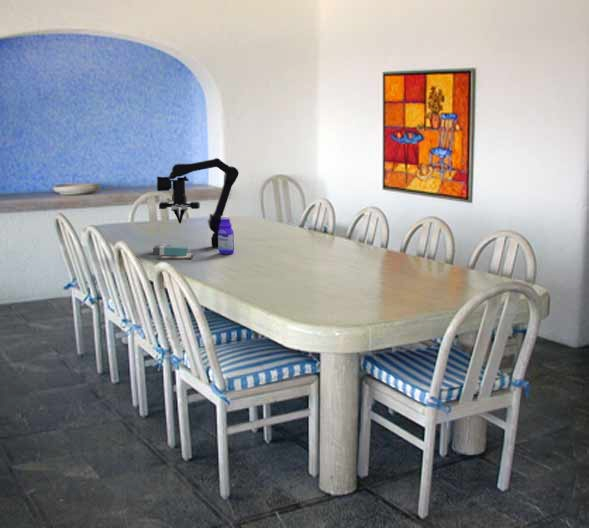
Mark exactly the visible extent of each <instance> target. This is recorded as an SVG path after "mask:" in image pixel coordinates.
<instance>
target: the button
mask: <svg viewBox="0 0 589 528" xmlns="http://www.w3.org/2000/svg"><path fill="white" fill-rule="evenodd" d="M156 245H157V246H158V247H160V246H166V245H167V243H157V244H156Z"/></svg>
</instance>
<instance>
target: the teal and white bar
mask: <svg viewBox="0 0 589 528" xmlns="http://www.w3.org/2000/svg"><path fill="white" fill-rule="evenodd" d="M188 248H189V247H188V246H172V245H171V246H160V255H176V256H187V253H188Z"/></svg>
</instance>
